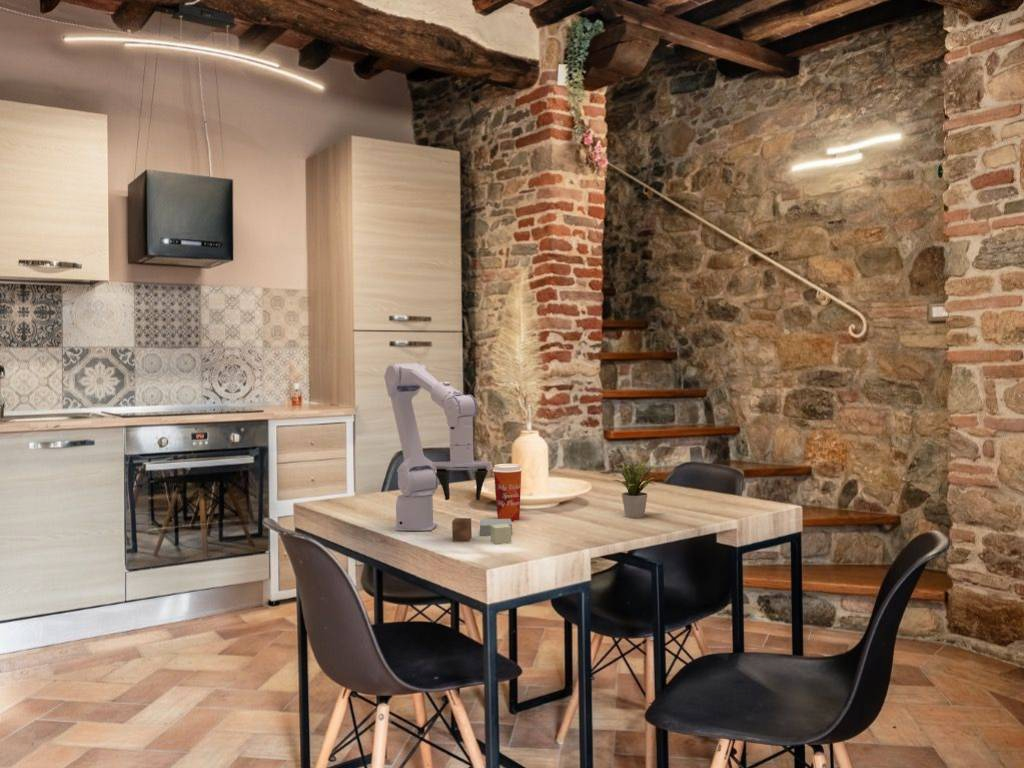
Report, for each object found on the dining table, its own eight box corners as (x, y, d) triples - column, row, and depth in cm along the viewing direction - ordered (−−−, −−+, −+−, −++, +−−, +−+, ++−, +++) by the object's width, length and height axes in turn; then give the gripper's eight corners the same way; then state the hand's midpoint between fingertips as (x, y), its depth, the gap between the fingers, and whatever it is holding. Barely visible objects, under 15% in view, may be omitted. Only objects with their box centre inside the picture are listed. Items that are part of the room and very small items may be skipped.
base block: (480, 537, 207) (480, 525, 207) (480, 530, 215) (480, 519, 215) (512, 536, 207) (511, 524, 207) (510, 530, 215) (510, 518, 215)
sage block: (495, 544, 197) (495, 528, 197) (490, 541, 201) (490, 525, 201) (511, 543, 198) (511, 526, 198) (506, 539, 202) (506, 523, 202)
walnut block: (452, 541, 201) (452, 521, 201) (455, 538, 205) (455, 518, 205) (468, 541, 201) (468, 521, 201) (471, 538, 205) (471, 518, 205)
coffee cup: (498, 523, 223) (497, 467, 222) (490, 517, 230) (489, 464, 230) (527, 520, 225) (526, 466, 224) (519, 515, 233) (517, 462, 232)
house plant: (660, 522, 218) (659, 461, 218) (608, 521, 222) (607, 461, 221) (663, 512, 232) (662, 455, 232) (614, 511, 235) (613, 454, 235)
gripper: (429, 446, 199) (430, 502, 200) (488, 445, 198) (489, 502, 198) (435, 443, 206) (436, 497, 207) (492, 442, 205) (493, 497, 205)
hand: (462, 499), depth 203 cm, fingers open, 7 cm apart
